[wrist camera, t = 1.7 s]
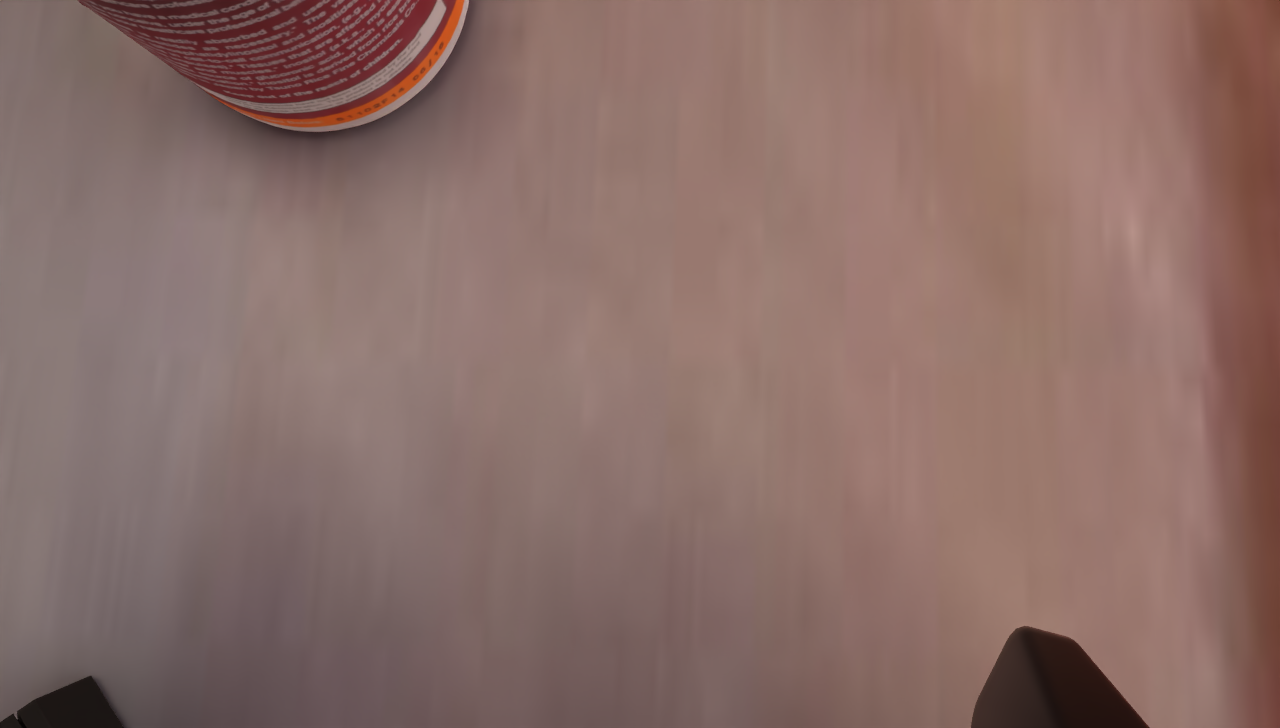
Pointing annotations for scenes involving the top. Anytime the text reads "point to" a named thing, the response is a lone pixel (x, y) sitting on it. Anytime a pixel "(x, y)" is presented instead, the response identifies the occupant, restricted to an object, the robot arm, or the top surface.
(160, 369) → the top surface
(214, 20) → the pill bottle
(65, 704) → the vhs tape
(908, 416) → the top surface
